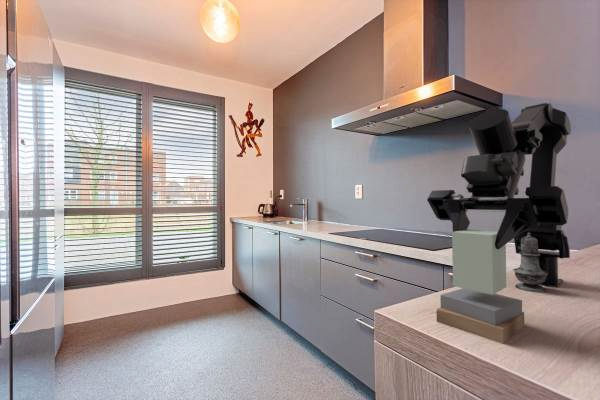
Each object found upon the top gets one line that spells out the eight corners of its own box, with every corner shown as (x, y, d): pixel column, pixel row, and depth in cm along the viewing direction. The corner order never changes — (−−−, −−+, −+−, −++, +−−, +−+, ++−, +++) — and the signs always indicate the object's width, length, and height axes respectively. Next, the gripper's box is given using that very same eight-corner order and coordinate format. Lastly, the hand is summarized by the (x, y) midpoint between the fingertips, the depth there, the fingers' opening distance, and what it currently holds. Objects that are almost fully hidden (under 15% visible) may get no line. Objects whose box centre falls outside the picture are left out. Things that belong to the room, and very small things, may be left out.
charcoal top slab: (468, 298, 50) (468, 286, 50) (522, 313, 43) (522, 300, 43) (440, 307, 46) (440, 294, 46) (495, 325, 39) (494, 311, 39)
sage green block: (468, 279, 48) (467, 229, 48) (506, 287, 44) (505, 231, 44) (452, 285, 45) (452, 232, 45) (492, 294, 41) (491, 235, 41)
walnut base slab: (462, 311, 51) (461, 297, 51) (524, 328, 44) (524, 312, 44) (436, 325, 45) (436, 309, 45) (503, 347, 38) (502, 329, 38)
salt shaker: (555, 293, 58) (553, 233, 58) (520, 291, 59) (519, 233, 59) (539, 285, 63) (538, 231, 63) (508, 283, 65) (507, 230, 65)
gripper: (431, 148, 54) (398, 208, 48) (562, 127, 40) (541, 210, 33) (451, 190, 59) (424, 249, 52) (575, 185, 44) (559, 267, 38)
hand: (474, 245), depth 44 cm, fingers closed on sage green block, 5 cm apart
